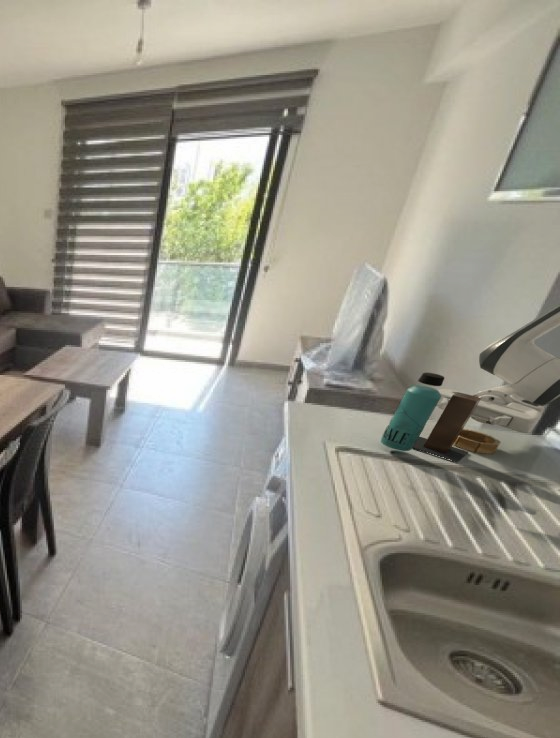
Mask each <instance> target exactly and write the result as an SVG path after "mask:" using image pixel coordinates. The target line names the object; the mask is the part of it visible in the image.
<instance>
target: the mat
mask: <svg viewBox="0 0 560 738" xmlns="http://www.w3.org/2000/svg"><path fill="white" fill-rule="evenodd" d="M427 439H428V438H426V437H423V436H421V435H420V436H419V438H418V439H417V441H416V443H415V445H414V446H413V449H412V450H415V449H417V450H416V451H418V450H421V451H424V452H428V453H431V454H434V455H437V456H440V457H444V458H446V459H450V460H452V461H455V462H458V461H459V462H460V461H461V460H462V459H463V458H465V456H467V454H468V453H469V450H465V449H462V448H459V447H456V446H452V448H451V449H450V450H449V451H448V452H447V453H446V454H444V453H441V452H438V451H435V450H432V449H429V448H426V447H423V446H424V444H425V442H426V440H427ZM421 451H420V452H421ZM424 452H423V453H424ZM459 462H458V463H459Z"/></svg>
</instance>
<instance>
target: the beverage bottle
mask: <svg viewBox="0 0 560 738" xmlns="http://www.w3.org/2000/svg"><path fill="white" fill-rule="evenodd" d="M444 380H445V376H443V375H441V374H438V373H433V372H423V373H421V375H420V377H419V378H418V380H417V381H418V383H421V384H423V385H418V384H416V385H413V386H410V387H408V388H407V389H406V391H405V394H404V396H403V397H402V399H401V400H400V402H399V403H398V405H397V407H396V410H395V411H394V413H393V416H392V417H391V419H390V420H389V422H388V424H387V426H386V428H385V429H384V432H383V433H382V436H381V438H380V443H381V444H382V445H383V446H385V447H388V448H390V449H392V450H396V451H402V452H409V451H412V450H413V449H412V448H413V446H414V445H415V443H416V441H417V439H418V438H419V436H420V437H421V434H422V432H423V431H424V428H425V426H426V424H427V422H428V420H429V419H430V417H431V416H432V414H433V412H434V410H435V408H436V407H437V406H436V405H437V403H438V402H439V400H440V399H441V394H440V393H439V391H438V390H439V389H436V388H434V387H442V385H443V383H444ZM431 386H433V387H431Z"/></svg>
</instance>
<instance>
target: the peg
mask: <svg viewBox="0 0 560 738" xmlns="http://www.w3.org/2000/svg"><path fill="white" fill-rule="evenodd" d="M460 392H461V391H459V392H457V393H455V394H454V395H452V397H451V399H450V401H449V402H448V404H447V406H446V408H445V409H444V410H443V411H442V413H441V414H440V416H439V418H438V419H437V422H436V423H435V425H434V427H433V428H432V430H431V432H430V434H429V435H428V437H427V438H426V439H427V440H426V442H425V444H424V446H423V447H426V448H429V449H432V450H435V451H438V452H441V453H444V454H446V453H447V452H448V451H449V450H450V449H451V448H452V447H454V445H453V444H454V443H455V441H456V439H457V438H458V436H459V434H460V433H461V431H462V429H465V426H466V425H467V423H468V421H469V420H470V418H471V417H470V416H471V415H472V413H473V411H474V410H475V408H476V407H477V405H478V403H479V402H480V400H481V398H480V397H476V396H472V394H470V395H468V394H469V393H466V394H464V393H465V392H462V393H460Z"/></svg>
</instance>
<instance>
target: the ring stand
mask: <svg viewBox="0 0 560 738" xmlns="http://www.w3.org/2000/svg"><path fill="white" fill-rule="evenodd" d="M501 443H502V442H501V440H499V439H497V438H495V437H493V436H491V435H489V434H486V433H483V432H480V431H476V430H473V429H468V428H463V429H462V431H461V433H460V434H459V436H458V438H457V439H456V441H455V443H454V444H453V447H455V448H459V447H460V448H459V449H462V450H465V451H468V452H472V453H474V452H475V453H478V454H485V455H486V454H487V455H493V454H494V453H496V451H497V449H498V448H499V447H500V445H501Z"/></svg>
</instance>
